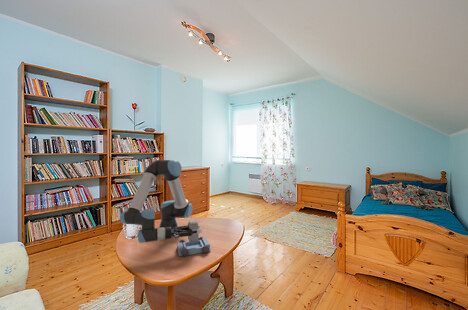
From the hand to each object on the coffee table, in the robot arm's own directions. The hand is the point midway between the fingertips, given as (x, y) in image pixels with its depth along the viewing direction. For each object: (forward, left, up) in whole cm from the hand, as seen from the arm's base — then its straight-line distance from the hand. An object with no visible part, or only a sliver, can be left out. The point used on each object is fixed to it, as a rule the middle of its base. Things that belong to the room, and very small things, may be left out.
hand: (200, 228), depth 142 cm
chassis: (0, -5, -13) cm, 14 cm away
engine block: (0, -5, -6) cm, 8 cm away
